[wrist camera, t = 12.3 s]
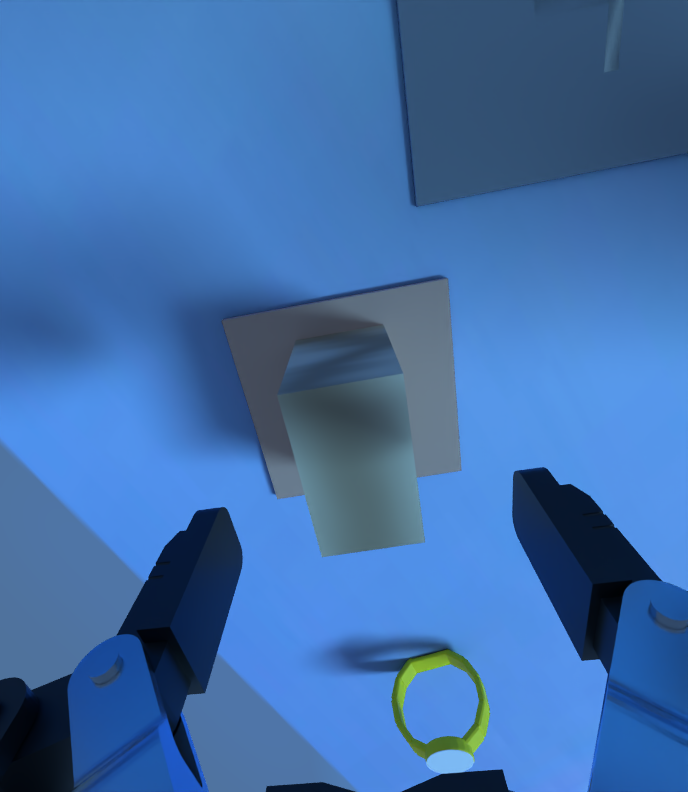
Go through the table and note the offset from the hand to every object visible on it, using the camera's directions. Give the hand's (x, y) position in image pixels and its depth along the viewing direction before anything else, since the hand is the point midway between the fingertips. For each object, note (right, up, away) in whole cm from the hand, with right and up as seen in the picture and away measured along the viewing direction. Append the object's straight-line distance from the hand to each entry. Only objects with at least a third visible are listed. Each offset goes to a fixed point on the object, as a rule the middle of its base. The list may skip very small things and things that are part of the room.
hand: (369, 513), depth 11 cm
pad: (0, +3, +8) cm, 9 cm away
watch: (+5, -15, +17) cm, 24 cm away
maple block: (0, +3, +8) cm, 9 cm away
